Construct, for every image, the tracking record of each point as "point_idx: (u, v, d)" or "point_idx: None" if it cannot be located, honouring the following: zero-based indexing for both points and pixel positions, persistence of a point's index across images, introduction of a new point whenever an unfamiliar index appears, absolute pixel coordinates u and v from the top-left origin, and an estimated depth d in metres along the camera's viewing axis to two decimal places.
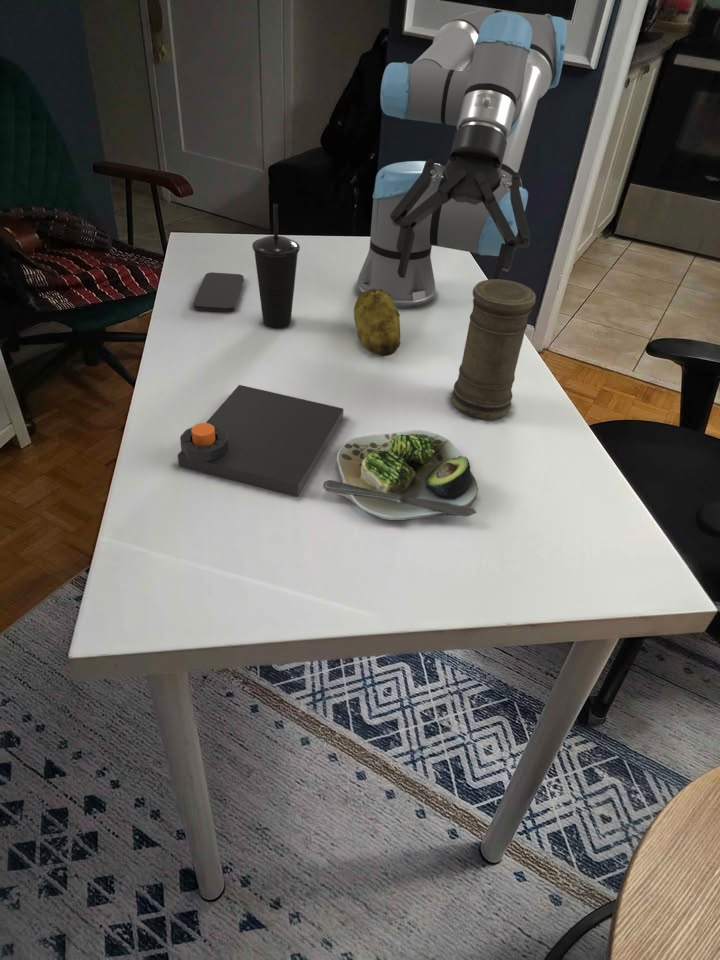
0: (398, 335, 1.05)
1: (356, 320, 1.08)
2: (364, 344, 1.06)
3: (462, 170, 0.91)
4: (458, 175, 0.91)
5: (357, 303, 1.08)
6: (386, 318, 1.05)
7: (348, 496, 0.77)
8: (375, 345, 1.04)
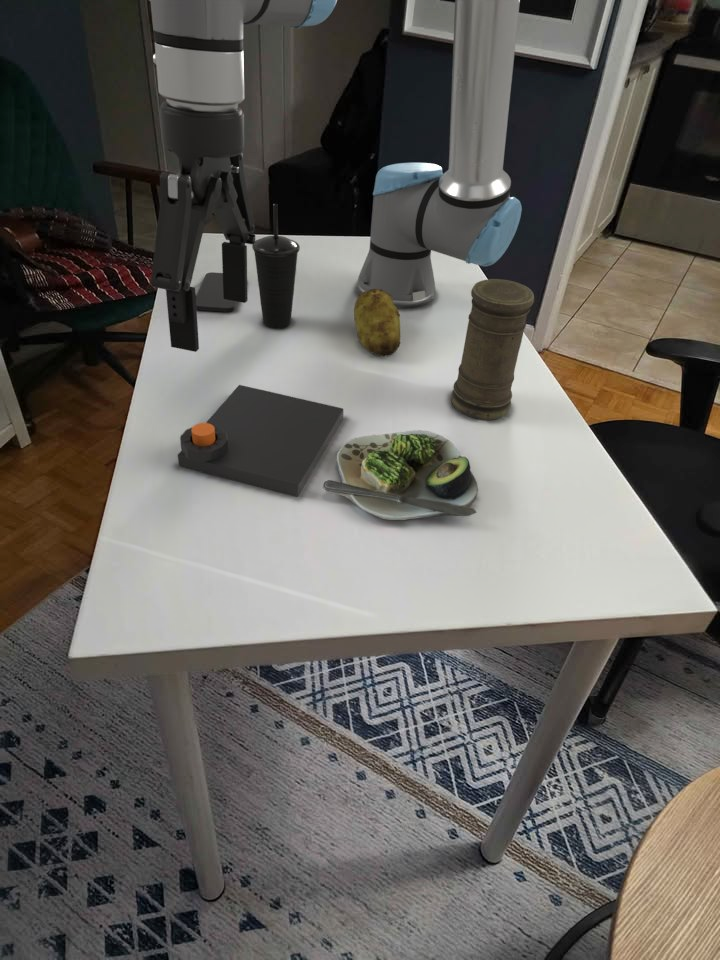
0: (398, 335, 1.05)
1: (356, 320, 1.08)
2: (364, 344, 1.06)
3: None
4: None
5: (357, 303, 1.08)
6: (386, 318, 1.05)
7: (348, 496, 0.77)
8: (375, 345, 1.04)
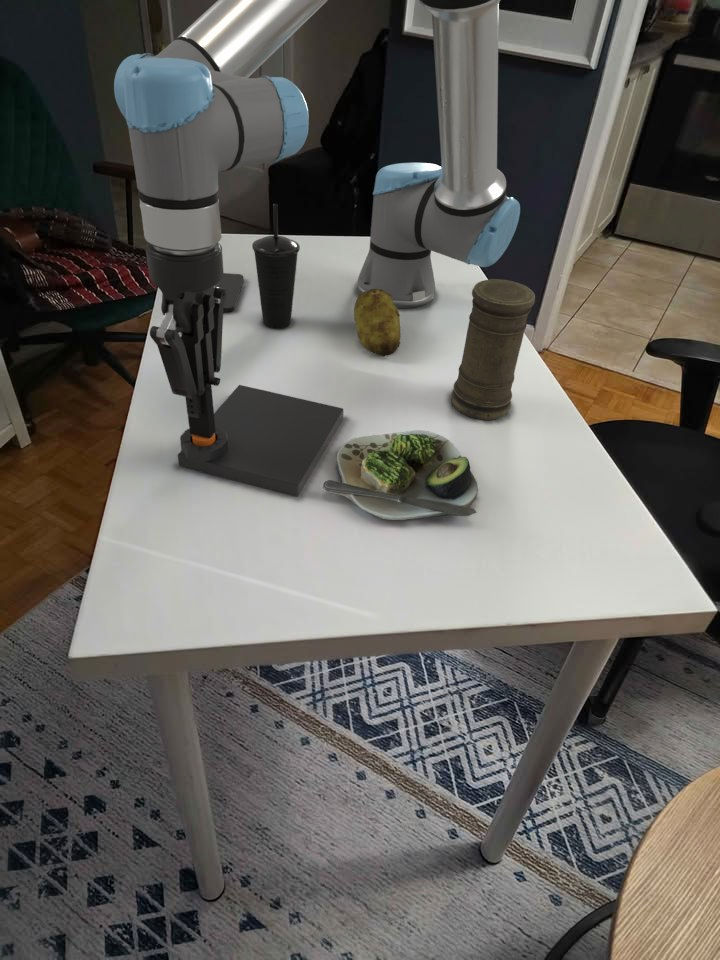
0: (398, 335, 1.05)
1: (356, 320, 1.08)
2: (364, 344, 1.06)
3: None
4: None
5: (357, 303, 1.08)
6: (386, 318, 1.05)
7: (348, 496, 0.77)
8: (375, 345, 1.04)
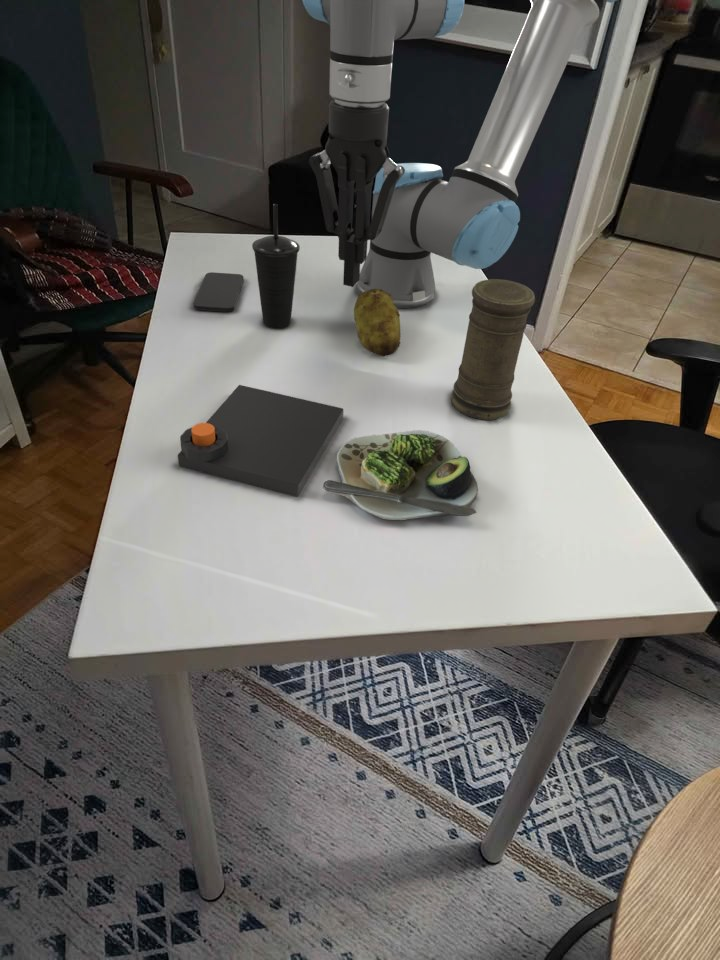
0: (398, 335, 1.05)
1: (356, 320, 1.08)
2: (364, 344, 1.06)
3: (340, 156, 0.83)
4: (339, 161, 0.83)
5: (357, 303, 1.08)
6: (386, 318, 1.05)
7: (348, 496, 0.77)
8: (375, 345, 1.04)
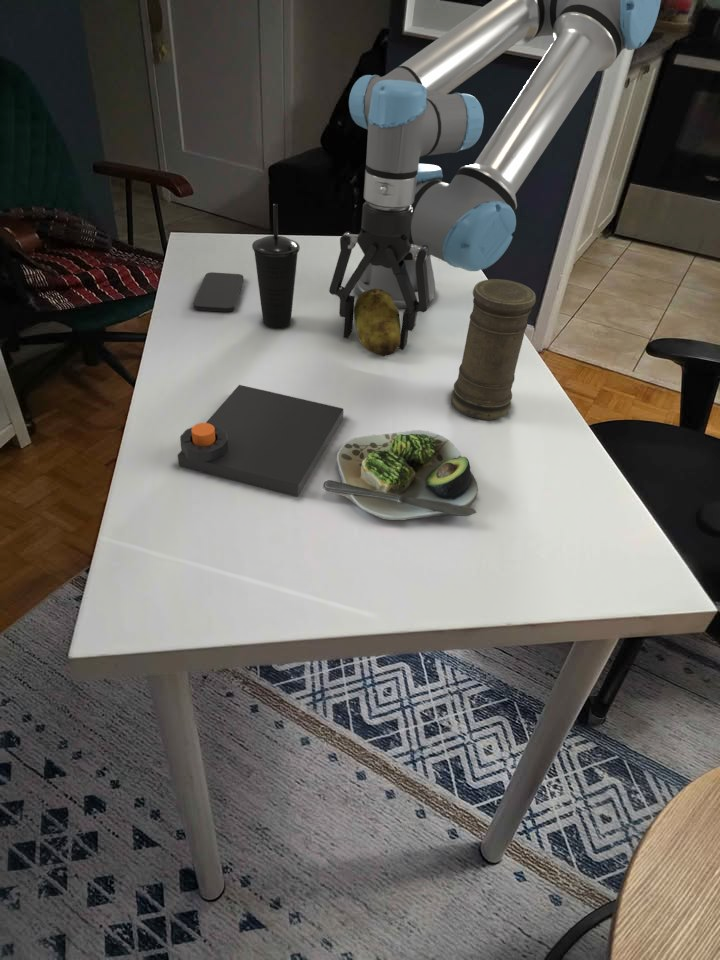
0: (398, 335, 1.05)
1: (356, 320, 1.08)
2: (364, 344, 1.06)
3: (372, 246, 0.98)
4: (370, 250, 0.99)
5: (357, 303, 1.08)
6: (386, 318, 1.05)
7: (348, 496, 0.77)
8: (375, 345, 1.04)
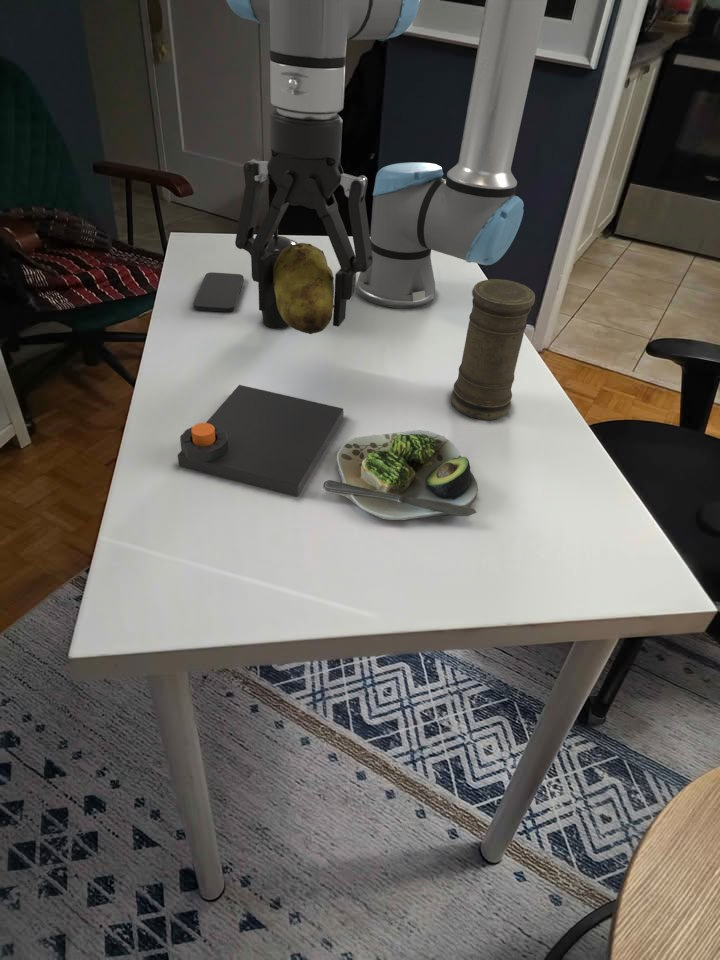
0: (329, 304, 0.75)
1: (275, 285, 0.79)
2: (284, 317, 0.77)
3: (287, 175, 0.70)
4: (284, 182, 0.70)
5: (276, 262, 0.79)
6: (313, 280, 0.76)
7: (348, 496, 0.77)
8: (296, 318, 0.75)
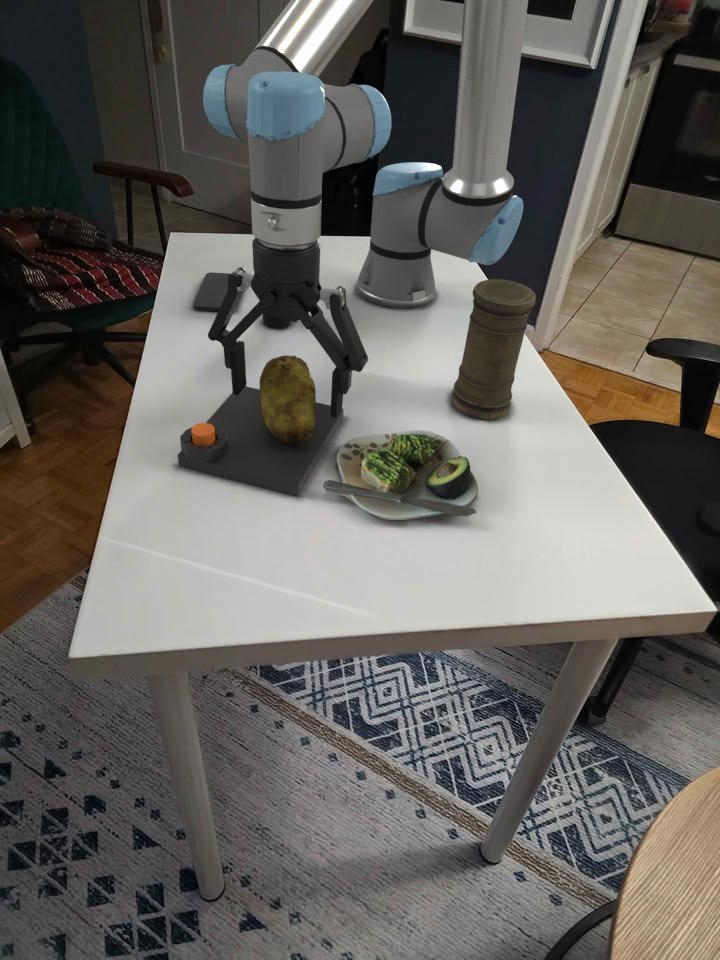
0: (310, 419, 0.81)
1: (261, 396, 0.85)
2: (269, 428, 0.83)
3: (270, 294, 0.74)
4: (267, 300, 0.74)
5: (262, 374, 0.85)
6: (296, 396, 0.82)
7: (348, 496, 0.77)
8: (280, 432, 0.81)
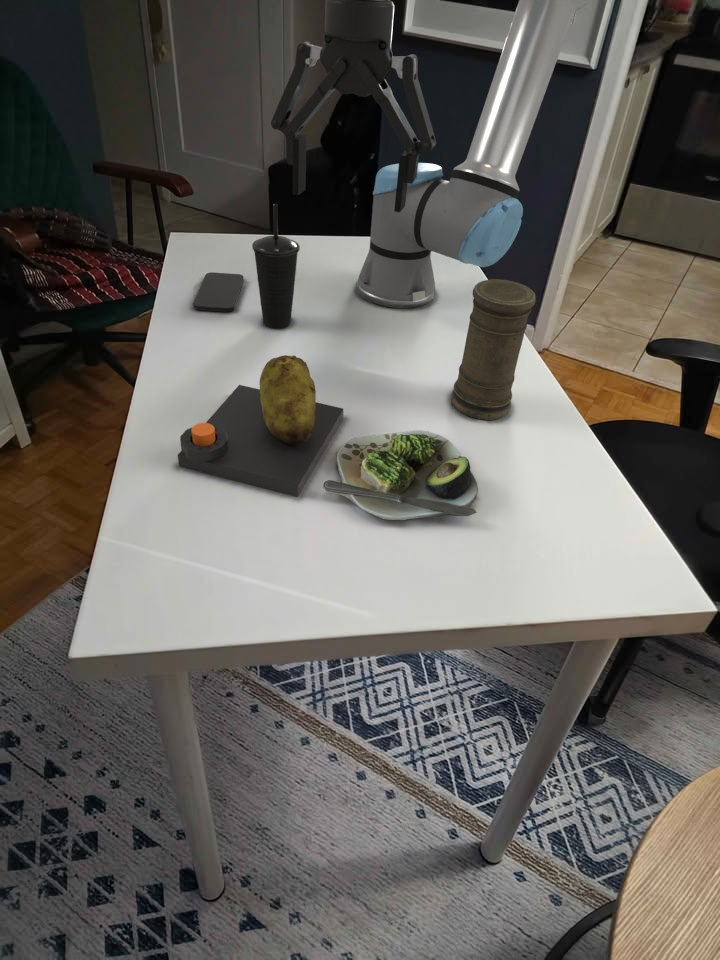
0: (310, 419, 0.81)
1: (261, 396, 0.85)
2: (269, 428, 0.83)
3: (340, 61, 0.72)
4: (337, 69, 0.73)
5: (262, 374, 0.85)
6: (296, 396, 0.82)
7: (348, 496, 0.77)
8: (280, 432, 0.81)
